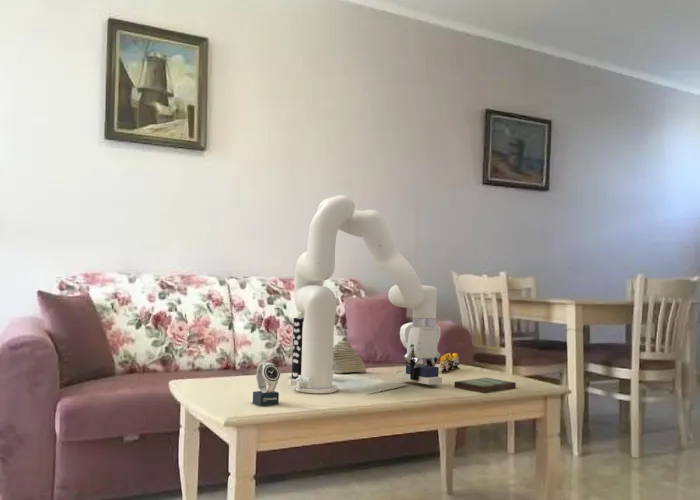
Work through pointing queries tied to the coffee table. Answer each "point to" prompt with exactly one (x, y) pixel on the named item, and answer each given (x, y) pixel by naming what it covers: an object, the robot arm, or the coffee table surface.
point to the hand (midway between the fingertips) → (421, 378)
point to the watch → (271, 377)
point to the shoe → (423, 374)
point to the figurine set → (449, 362)
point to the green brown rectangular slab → (485, 385)
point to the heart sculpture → (405, 334)
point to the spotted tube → (297, 347)
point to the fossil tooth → (346, 359)
